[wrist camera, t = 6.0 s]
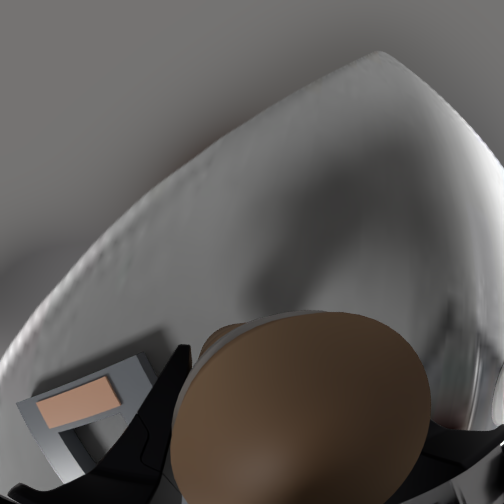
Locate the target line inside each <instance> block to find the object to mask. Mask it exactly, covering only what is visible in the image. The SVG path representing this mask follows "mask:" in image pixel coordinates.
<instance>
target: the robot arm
mask: <svg viewBox="0 0 504 504" xmlns="http://www.w3.org/2000/svg"><path fill="white" fill-rule="evenodd" d="M191 369H192V357H191V347H190V345H185V344H180V345H178V347H177V348H176V350H175V352H174V353H173V355H172V356H171V358H170V360H169V361H168V363H167V364H166V366H165V368H164V369H163V371H162V372H161V374H160V376H159V377H158V379H157V380H156V382H155V384H154V385H153V387H152V388H151V390H150V392H149V393H148V395H147V397H146V398H145V400H144V401H143V403H142V405H141V406H140V408H139V410H138V411H137V413H138V414H137V413H136V414H135V416H134V417H133V419H132V421H131V422H130V424H129V425H128V427H127V428H126V430H125V431H124V433H123V434H122V435H121V437H120V438H119V439H118V440H117V442H116V443H115V444H114V445H113V446H112V448H111V449H110V450H109V451H108V452H107V454H106V455H105V456H104V457H103V458H102V460H101V461H100V462H99V463H98V464H97V465H96V466H95V467H94V468H93V469H92V470H91V471H89V472H88V473H86V474H84V475H82V476H80V477H78V478H76V479H74V480H72V481H70V482H68V483H66V484H64V485H62V486H59V487H57V488H55V489H53V490H50V491H38V490H35V489H33V488H31V487H29V486H27V485H25V484H23V483H18V484H17V485H15V486H14V487H13V488H12V489H11V490H10V491H9V492H8V496H9V497H10V498H12V499H13V500H15V501H17V502H19V503H17V502H15V501H13V500H11V499H9V498H6V497H4V496H2V495H0V504H182V494H181V492H180V490H179V488H178V486H177V483H176V481H175V478H174V474H173V470H172V465H171V452H170V445H171V438H172V420H173V413H174V408H175V405H176V402H177V399H178V396H179V393H180V391H181V389H182V387H183V385H184V383H185V381H186V379H187V377H188V374H189V372H190V371H191ZM503 441H504V424H501V425H500V426H499V427H497V428H496V429H494V430H491V431H469V430H453V429H447V428H444V427H442V426H440V425H438V424H437V423H435V422H434V421H432V420H431V419H430V423H429V428H428V433H427V436H426V440H425V443H424V446H423V448H422V451H421V453H420V455H419V458H418V460H417V461H416V463H415V465H414V467H413V469H412V470H411V472H410V473H409V475H408V476H407V478H406V479H405V481H404V482H403V483H402V485H401V486H400V487H399V488H398V489H397V490H396V492H395V493H394V494H393V495H392V496H391V497H390V498H389V499H388V500H387V501H386V502H385V503H384V504H504V444H503V445H502V446H500V444H501V443H502V442H503Z"/></svg>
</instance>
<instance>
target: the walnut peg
mask: <svg viewBox="0 0 504 504" xmlns="http://www.w3.org/2000/svg"><path fill="white" fill-rule="evenodd" d="M430 415H431V395H430V388H429V383H428V378H427V375H426V372H425V370H424V367H423V365H422V363H421V361H420V359H419V357H418V355H417V354H416V352H415V351H414V350H413V348H412V347H411V346H410V344H409V343H408V342H407V341H406V340H405V339H404V338H403V337H402V336H401V335H400V334H398V333H397V332H395V331H394V330H393V329H391V328H390V327H388V326H387V325H384V324H382V323H380V322H378V321H376V320H374V319H371V318H368V317H365V316H361V315H357V314H350V313H344V312H326V311H315V310H301V311H291V312H285V313H280V314H275V315H271V316H266V317H262V318H259V319H256V320H253V321H250V322H247V323H240V324H232V325H228V326H225V327H223V328H221V329H219V330H217V331H216V332H214V333H213V334H212V335H211V336H210V337H209V338H208V339H207V341H206V342H205V343H204V345H203V347H202V350H201V352H200V355H199V358H198V360H197V362H196V363H195V365H194V366H193V368H192V369H191V371H190V372H189V374H188V377H187V379H186V381H185V383H184V385H183V387H182V389H181V391H180V393H179V396H178V399H177V402H176V405H175V408H174V413H173V420H172V438H171V445H170V452H171V465H172V470H173V474H174V478H175V481H176V483H177V486H178V488H179V490H180V492H181V494H182V495H183V497H184V498H185V500H186V501H187V503H188V504H384V503H385V502H386V501H387V500H388V499H389V498H390V497H391V496H392V495H393V494H394V493H395V492H396V490H397V489H398V488H399V487H400V486H401V485H402V483H403V482H404V481H405V479H406V478H407V476H408V475H409V473H410V472H411V470H412V469H413V467H414V465H415V463H416V461H417V460H418V458H419V455H420V453H421V451H422V448H423V446H424V443H425V440H426V436H427V433H428V428H429V423H430Z"/></svg>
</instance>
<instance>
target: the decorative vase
mask: <svg viewBox="0 0 504 504" xmlns="http://www.w3.org/2000/svg"><path fill="white" fill-rule="evenodd" d="M492 420H493V422H494V424H495V425H499V426H500V425H501V424H504V364H503V366H502V368H501V371H500V373H499V376H498V379H497V383H496V386H495V390H494V395H493V401H492Z"/></svg>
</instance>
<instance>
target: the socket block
mask: <svg viewBox="0 0 504 504" xmlns="http://www.w3.org/2000/svg"><path fill="white" fill-rule="evenodd" d="M157 379H158V378H157V376H156V374H155V372H154V371H153V369H152V367H151V365H150V363H149V361H148V359H147V357H146V355H145V353H144V352H142V353H139V354H137V355H134V356H132V357H130V358H128V359H125V360H123V361H121V362H118V363H116V364H114V365H111V366H109V367H107V368H104V369H102V370H100V371H97V372H95V373H93V374H90V375H88V376H85V377H83V378H80V379H78V380H75V381H73V382H70V383H68V384H65V385H63V386H60V387H58V388H55V389H53V390H50V391H47V392H45V393H42V394H39V395H37V396H34V397H31V398H28V399H26V400H23V401H20V402H17V403H16V405H17V407H18V409H19V411H20V413H21V415H22V417H23V419H24V421H25V423H26V425H27V427H28V428H29V430H30V432H31V434H32V436H33V437H34V439H35V441H36V443H37V444H38V446H39V448H40V449H41V451H42V452H43V454H44V456H45V457H46V459H47V460H48V462H49V463H50V465H51V466H52V468H53V469H54V471H55V472H56V473H57V475H58V476H59V478H60V479H61V480H62V482H63V483H64V484H66V483H68V482H70V481H72V480H74V479H76V478H78V477H80V476H82V475H84V474H86V473H88V472H89V471H91V470H92V469H93V468H94V467H95V466H96V464H95V463H94V461H93V460H92V458H91V457H90V456H89V454H88V453H87V451H86V450H85V448H84V447H83V445H82V443H81V442H80V440H79V439H78V437H77V435H76V434H75V432H74V430H73V429H72V428H76V427H79V426H82V425H86V424H89V423H92V422H95V421H98V420H101V419H104V418H107V417H110V416H113V415H116V414H118V413H121V415H122V417H123V418H124V420H125V422H126V423H127V425H129V424H130V422H131V421H132V419H133V417H134V416H135V414H136V413H137V411H138V410H139V408H140V406H141V405H142V403H143V401H144V400H145V398H146V397H147V395H148V393H149V392H150V390H151V388H152V387H153V385H154V384H155V382H156V380H157ZM137 414H138V413H137ZM182 504H188V503H187V501H186V500H185V498H184V497H183V495H182Z"/></svg>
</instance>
